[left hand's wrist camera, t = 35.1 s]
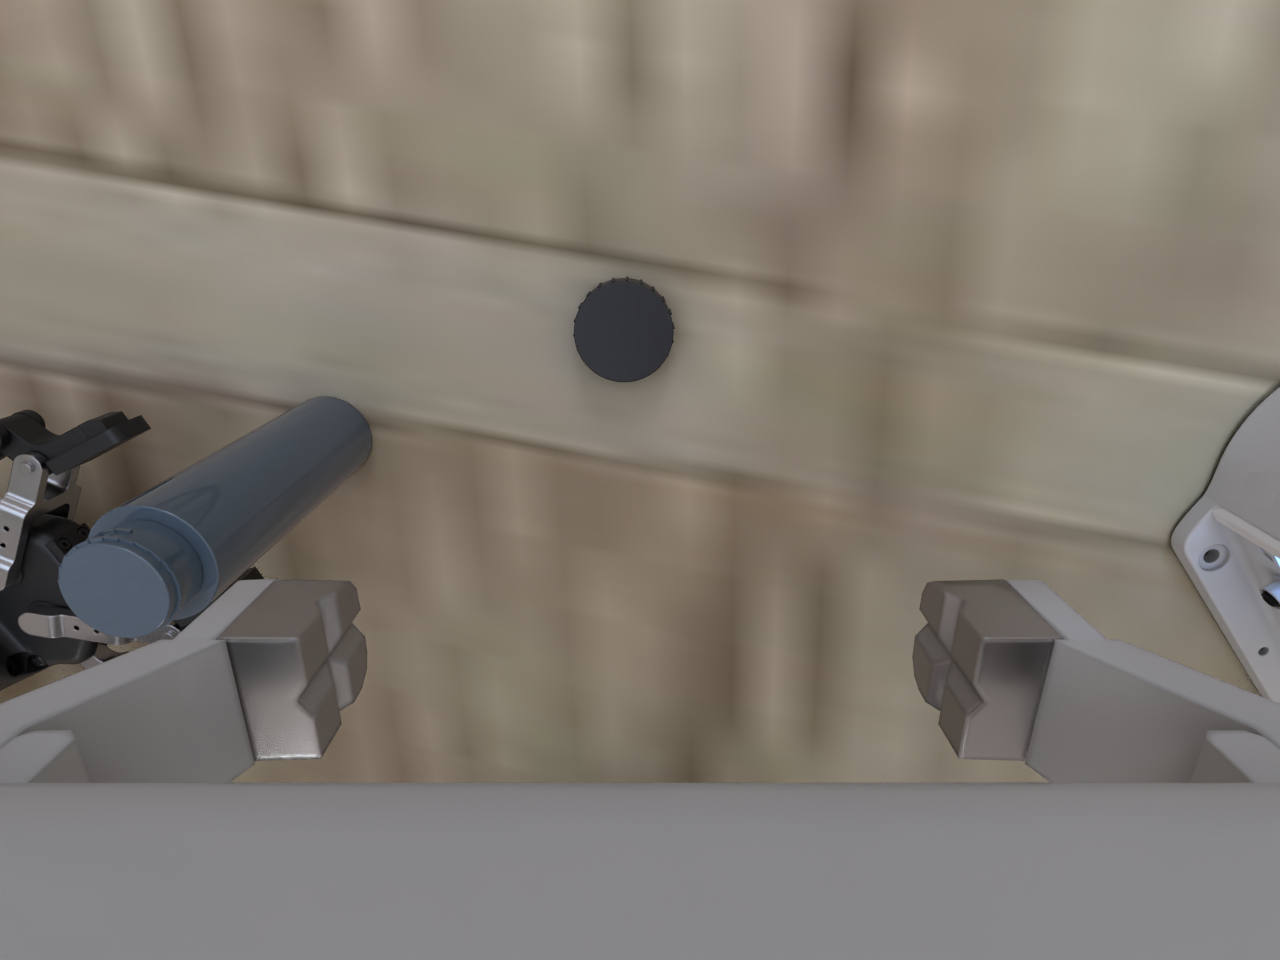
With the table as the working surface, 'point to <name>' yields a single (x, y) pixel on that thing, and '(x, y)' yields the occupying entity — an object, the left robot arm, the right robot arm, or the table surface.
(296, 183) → the table surface
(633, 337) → the lid
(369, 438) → the dark grey cylinder
